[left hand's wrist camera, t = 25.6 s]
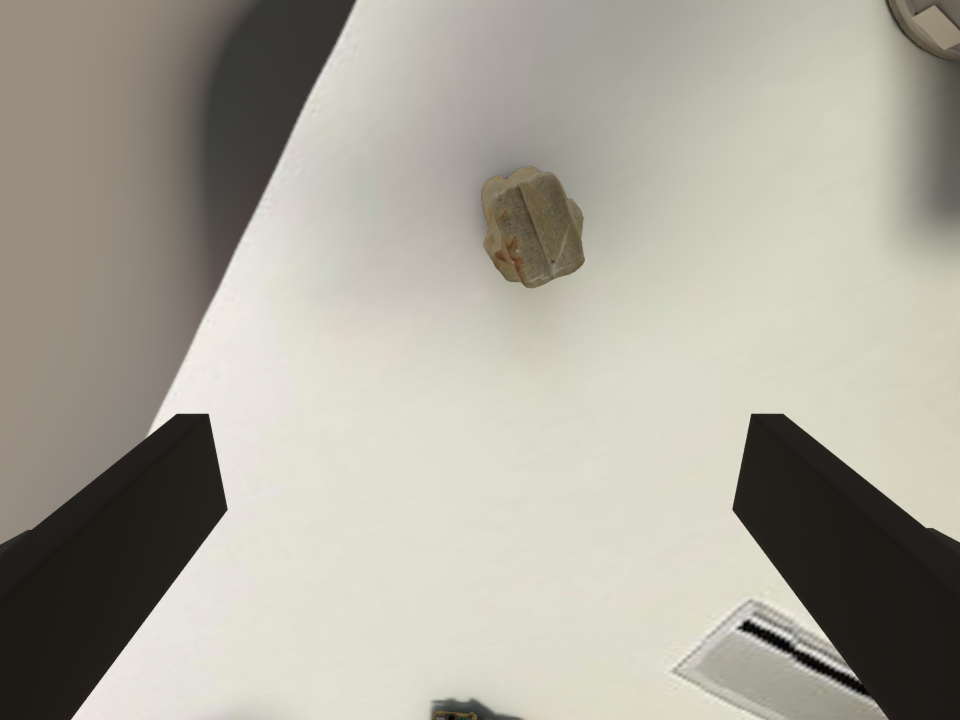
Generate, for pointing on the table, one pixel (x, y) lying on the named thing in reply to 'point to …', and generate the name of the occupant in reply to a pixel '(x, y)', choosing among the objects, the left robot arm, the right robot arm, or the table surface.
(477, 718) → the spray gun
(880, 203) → the table surface
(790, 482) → the left robot arm
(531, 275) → the sculpture
